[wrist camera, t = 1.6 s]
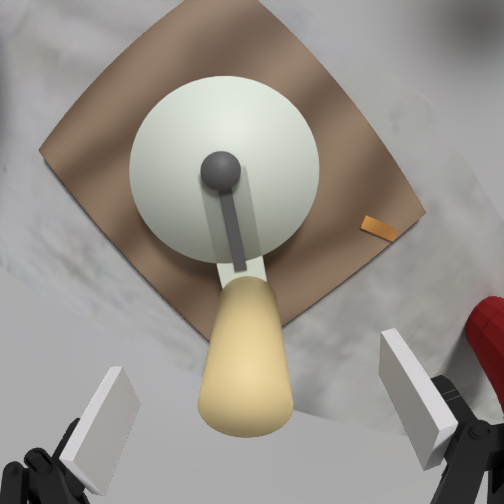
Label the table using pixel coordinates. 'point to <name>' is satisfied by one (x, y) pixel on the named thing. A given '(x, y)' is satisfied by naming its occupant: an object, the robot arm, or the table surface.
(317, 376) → the table surface
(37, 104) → the table surface
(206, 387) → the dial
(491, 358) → the plastic cup
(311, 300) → the base plate
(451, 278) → the table surface
